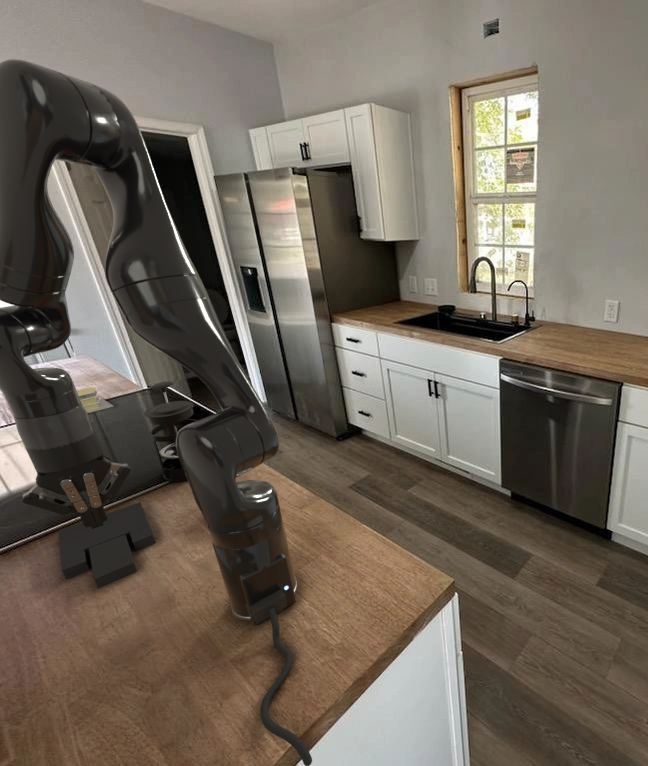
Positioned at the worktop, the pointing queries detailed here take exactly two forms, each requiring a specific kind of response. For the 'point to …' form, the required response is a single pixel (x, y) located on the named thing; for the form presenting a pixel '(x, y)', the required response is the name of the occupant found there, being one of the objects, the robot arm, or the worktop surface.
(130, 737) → the worktop surface
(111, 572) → the black pad
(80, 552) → the charcoal u-shaped block
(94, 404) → the stacked layers on plate
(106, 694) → the worktop surface
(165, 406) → the french press
